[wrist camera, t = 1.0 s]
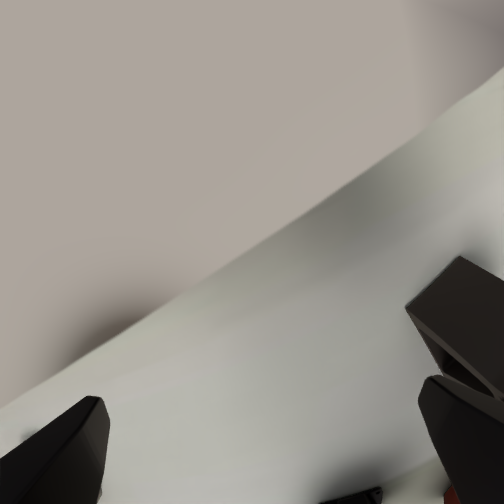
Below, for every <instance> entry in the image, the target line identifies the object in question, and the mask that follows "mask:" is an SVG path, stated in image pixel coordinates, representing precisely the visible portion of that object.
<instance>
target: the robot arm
mask: <svg viewBox="0 0 504 504" xmlns="http://www.w3.org/2000/svg"><path fill="white" fill-rule="evenodd" d="M418 405H419V408H420V410H421V413H422V416H423V418H424V421H425V424H426V426H427V429H428V432H429V435H430V437H431V440H432V443H433V445H434V447H435V449H436V451H437V453H438V456H439V458H440V460H441V462H442V464H443V466H444V468H445V470H446V472H447V475H448V477H449V479H450V481H451V483H452V486H453V488H454V490H455V492H456V495H457V497H458V499H459V501H460V504H504V402H502V401H500V400H497V399H495V398H492V397H490V396H488V395H485V394H483V393H480V392H478V391H476V390H473V389H471V388H469V387H466V386H464V385H462V384H459V383H457V382H455V381H452V380H450V379H448V378H446V377H443V376H441V375H433V376H429V377H427V378H426V379H425V381H424V384H423V387H422V389H421V392H420V394H419V397H418ZM109 431H110V418H109V415H108V413H107V410H106V407H105V404H104V401H103V399H102V398H101V397H97V396H86V397H84V398H83V399H82V400H80V401H79V402H78V403H76V404H75V405H73V406H72V407H71V408H69V409H68V410H67V411H65V412H64V413H63V414H61V415H60V416H58V417H57V418H56V419H54V420H53V421H52V422H50V423H49V424H48V425H46V426H45V427H43V428H42V429H41V430H39V431H38V432H37V433H35V434H34V435H32V436H31V437H30V438H28V439H27V440H25V441H24V442H23V443H21V444H20V445H19V446H17V447H16V448H14V449H13V450H12V451H10V452H9V453H7V454H6V455H5V456H3V457H2V458H0V504H97V500H98V496H99V492H100V487H101V483H102V479H103V474H104V468H105V461H106V453H107V445H108V438H109ZM382 493H383V491H382V488H381V487H377V488H374V489H371V490H368V491H365V492H362V493H358V494H355V495H352V496H348V497H344V498H341V499H337V500H333V501H329V502H325V503H321V504H381V503H382Z"/></svg>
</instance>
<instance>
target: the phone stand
mask: <svg viewBox="0 0 504 504" xmlns="http://www.w3.org/2000/svg"><path fill="white" fill-rule="evenodd" d="M406 311H407V313H408V315H409V316H410V318H411V320H412V321H413V323H414V325H415V326H416V328H417V330H418V331H419V333H420V335H421V336H422V338H423V340H424V342H425V343H426V345H427V347H428V348H429V349H430V352H431V354H432V356H433V358H434V359H435V361H436V363H437V365H438V367H439V369H440V370H441V372H442V374H443V376H444V377H446V378H448V379H450V380H452V381H455V382H457V383H459V384H462V385H464V386H466V387H469V388H471V389H473V390H476V391H478V392H480V393H483V394H485V395H488V396H490V397H492V398H495V399H497V400H500V401H502V402H504V281H503V280H501V279H499V278H498V277H496V276H494V275H493V274H491V273H489V272H487V271H486V270H484V269H482V268H480V267H479V266H477V265H475V264H473V263H472V262H470V261H468V260H466V259H464V258H463V257H461V256H459V257H458V258H457V259H456V260H455V261H454V263H453V264H452V265H451V266H450V267H449V268H448V269H447V270H446V271H445V272H444V273H443V274H442V275H441V276H440V277H439V278H438V279H437V280H436V281H435V282H434V283H433V284H432V285H431V286H430V287H429V288H428V289H427V290H426V291H425V292H424V293H422V294H421V295H420V296H419V297H418V298H417V299H416V300H415V301H414V302H413V303H412V304H411V305H410V306H409V307H407V308H406Z"/></svg>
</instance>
